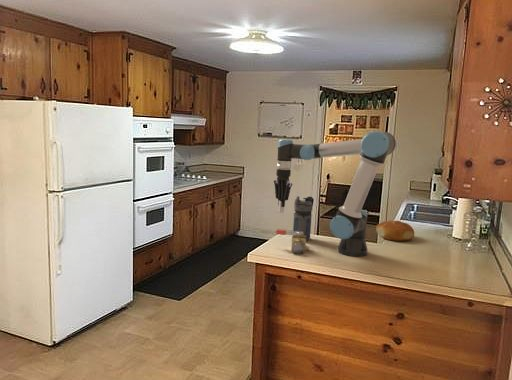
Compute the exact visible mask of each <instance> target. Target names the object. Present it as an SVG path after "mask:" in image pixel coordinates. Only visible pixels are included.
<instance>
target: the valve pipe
mask: <svg viewBox="0 0 512 380" xmlns="http://www.w3.org/2000/svg"><path fill="white" fill-rule="evenodd" d="M291 236H292V237H291V250H290V251H291V252H292V254H293V255H303V253H304V252H306V247H307V246H306V245H307V244H306V243H307V240H306V236H305V235H303V236H296V235H291Z"/></svg>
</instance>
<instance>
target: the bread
mask: <svg viewBox="0 0 512 380" xmlns="http://www.w3.org/2000/svg"><path fill="white" fill-rule="evenodd" d="M375 230H376V233H377V235H378V236H379V237H380V238H382V239H384V240H387V241H393V242H405V241H407V242H408V241H410V240H412V239H413V238H414V236H415V230H414V228H413V227H412V226H411V225H410V224H408V223H405V222H404V221H400V220H386V221H382V222H379V223H378V224H377V225H376V226H375Z"/></svg>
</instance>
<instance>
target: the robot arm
mask: <svg viewBox="0 0 512 380" xmlns="http://www.w3.org/2000/svg"><path fill="white" fill-rule="evenodd" d="M396 141H397V140H396V138H395V136H394V135H393V134H392V133H390V132H388V131H381V130H373V131H369V132H368V133H367V134H365V135H364V136H363V138H359V139H358V138H357V139H350V140H341V141H332V142H324V143H314V144H298V143H297V144H296V143H294V141H293V139H279V141H278V145H277V163H276V173H275V174H276V176H277V177H276V179H275V180H273V183H274V193H275V199H277V201H278V202H277V205H278V209H277V210H278V211H277V213H279V214H283V213H284V212H285V207H286V201H288V200H289V196H290V193H291V188H292V186H293V183H292V182H290V177H291V173H292V172H291V171H292V170H291V169H292V160H293V159H296V160H297V159H298V160H304V161H311V160H314V159H321V158H332V157H345V156H355V155H359V158H360V162H359V165H358V167H357V169H356V172H355V175H354V176H353V180H352V183H351V185H350V188H349V190H348V193H347V195H346V198H345V201H344V203H343V205H342V206H339V207H338V210H337V212H336V214H335V216H334V217H333V218H332V219H331V221H330V223H329V229H330V232H331V234H332V235H333V236H334V237H335V238H337V239H339V240H340V241H339V244H338V247H337V252H338V253H339V254H341V253H342V255H344V256H350V257H365V256H367V255H368V252H369V251H368V246H367V245H368V244H367V241H366V233H367V223H368V211H366V210H365V209H363V206H364V204H365V201H366V199H367V197H368V194H369V192H370V189H371V187H372V185H373V182H374V179H375V177H376V174H377V172H378V169H379V168H380V166H382V165H385V161H386V159H387V157H388V156H389V155H390V154H392V153H393V152H394V151H395V149H396V146H397V142H396Z"/></svg>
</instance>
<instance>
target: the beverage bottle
mask: <svg viewBox="0 0 512 380" xmlns="http://www.w3.org/2000/svg"><path fill="white" fill-rule="evenodd" d="M314 202H315V201H314V198H313V197H312V196H307V197H303V198H302V199H300V196H296V198H295V199H294V205H293V206H294V207H293V209H294V213H293V218H292V219H293V222H292V231H303V235H305V236H306V241H308V240H310V238H311V231H312V230H311V229H312V228H311V227H312V216H313V215H312V211H313V205H314Z"/></svg>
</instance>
